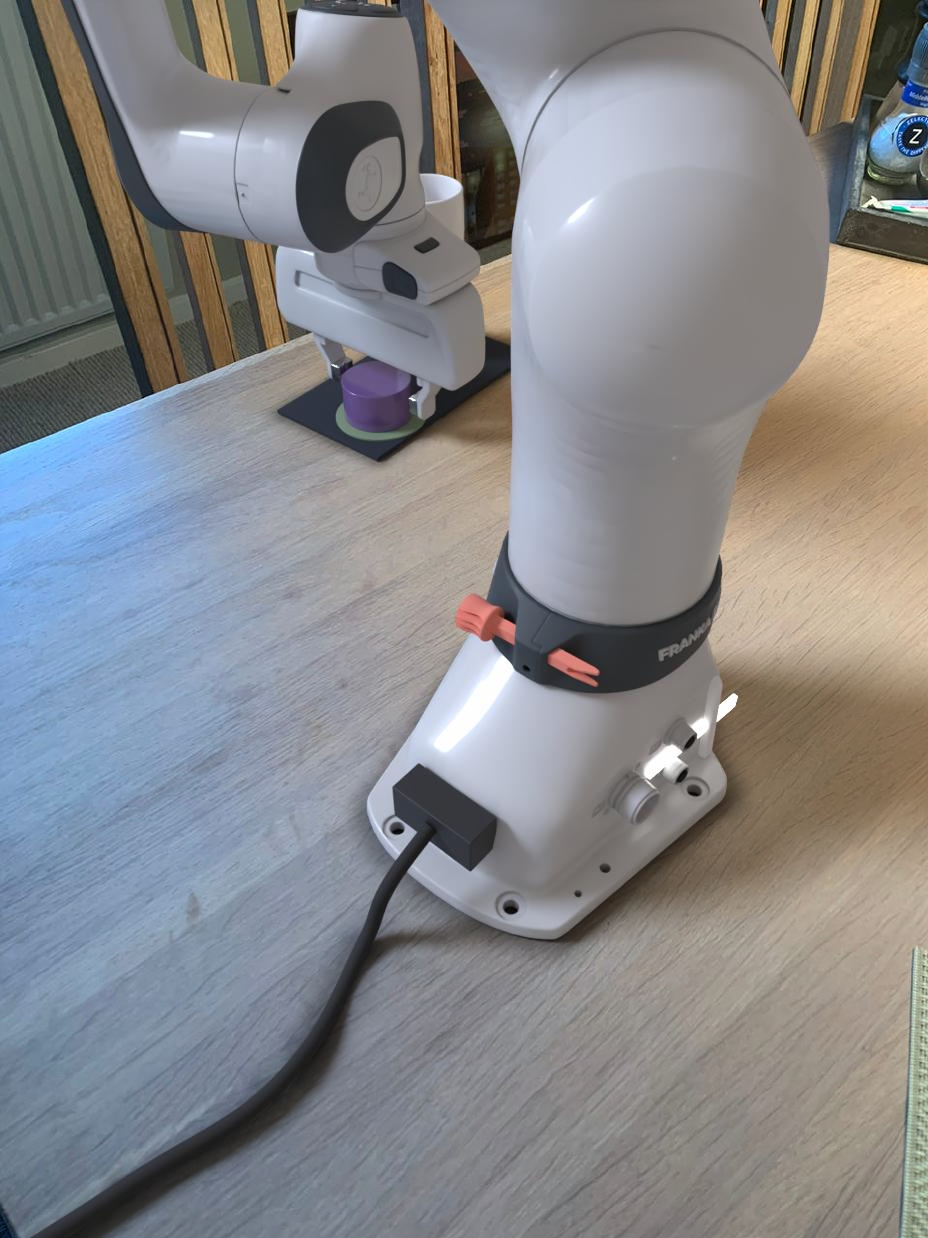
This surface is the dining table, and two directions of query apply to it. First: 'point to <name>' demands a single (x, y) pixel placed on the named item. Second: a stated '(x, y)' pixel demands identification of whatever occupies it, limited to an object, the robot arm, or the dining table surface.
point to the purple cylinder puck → (376, 397)
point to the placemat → (327, 418)
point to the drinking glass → (445, 201)
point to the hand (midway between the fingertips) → (381, 396)
